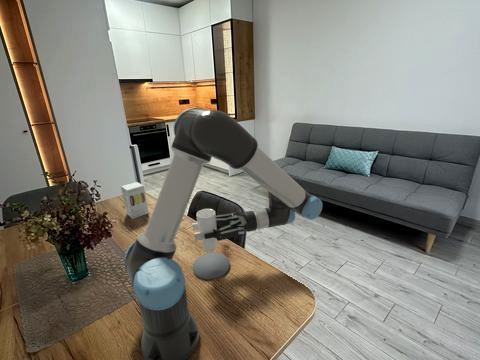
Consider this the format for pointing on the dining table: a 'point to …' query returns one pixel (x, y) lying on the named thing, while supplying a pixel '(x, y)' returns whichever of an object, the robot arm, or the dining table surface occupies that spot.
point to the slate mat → (211, 266)
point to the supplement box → (135, 200)
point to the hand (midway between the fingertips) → (193, 231)
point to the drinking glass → (207, 228)
